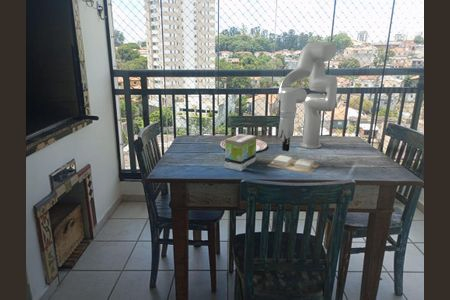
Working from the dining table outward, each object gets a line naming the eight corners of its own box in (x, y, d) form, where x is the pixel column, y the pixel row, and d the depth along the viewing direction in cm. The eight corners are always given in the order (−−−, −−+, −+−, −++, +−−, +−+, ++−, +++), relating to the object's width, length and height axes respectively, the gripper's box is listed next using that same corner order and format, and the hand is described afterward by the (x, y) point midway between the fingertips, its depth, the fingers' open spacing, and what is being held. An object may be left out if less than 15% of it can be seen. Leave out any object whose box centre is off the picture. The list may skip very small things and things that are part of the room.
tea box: (241, 171, 155) (242, 142, 151) (224, 167, 160) (224, 139, 156) (256, 163, 167) (256, 135, 163) (239, 159, 172) (239, 132, 168)
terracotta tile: (279, 155, 167) (273, 159, 160) (292, 157, 164) (286, 162, 157) (279, 159, 168) (272, 164, 161) (292, 161, 165) (286, 166, 158)
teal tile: (300, 158, 162) (294, 163, 155) (313, 160, 159) (309, 165, 152) (299, 163, 163) (294, 168, 156) (313, 165, 160) (308, 170, 153)
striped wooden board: (278, 159, 173) (278, 156, 173) (319, 165, 163) (319, 163, 162) (266, 167, 160) (266, 165, 159) (310, 176, 149) (310, 173, 149)
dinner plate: (275, 152, 184) (275, 147, 183) (231, 158, 175) (231, 152, 174) (253, 141, 209) (253, 136, 208) (214, 145, 199) (213, 140, 198)
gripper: (285, 112, 167) (283, 146, 172) (274, 116, 155) (273, 153, 160) (299, 113, 163) (297, 148, 169) (289, 118, 151) (287, 155, 156)
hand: (285, 150), depth 164 cm, fingers closed
